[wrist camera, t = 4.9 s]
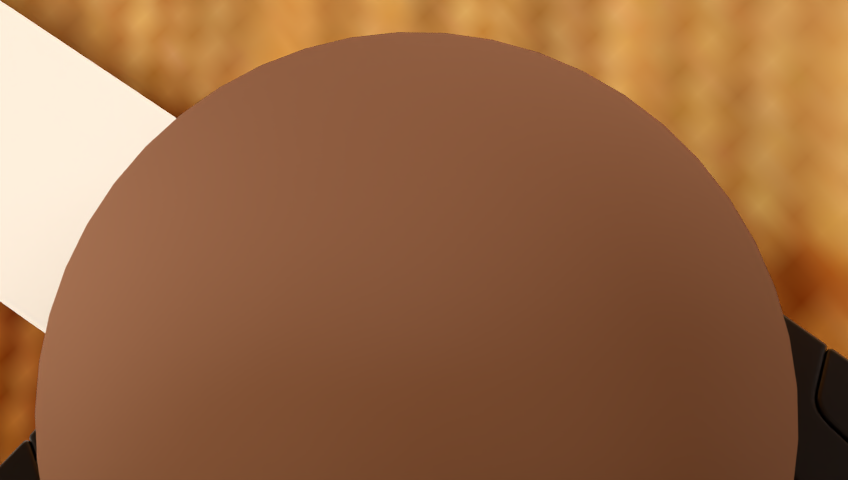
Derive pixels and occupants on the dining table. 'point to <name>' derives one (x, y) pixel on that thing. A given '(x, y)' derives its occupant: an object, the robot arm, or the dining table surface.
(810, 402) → the robot arm
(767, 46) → the dining table surface
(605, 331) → the terracotta peg
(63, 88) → the white flat square block
